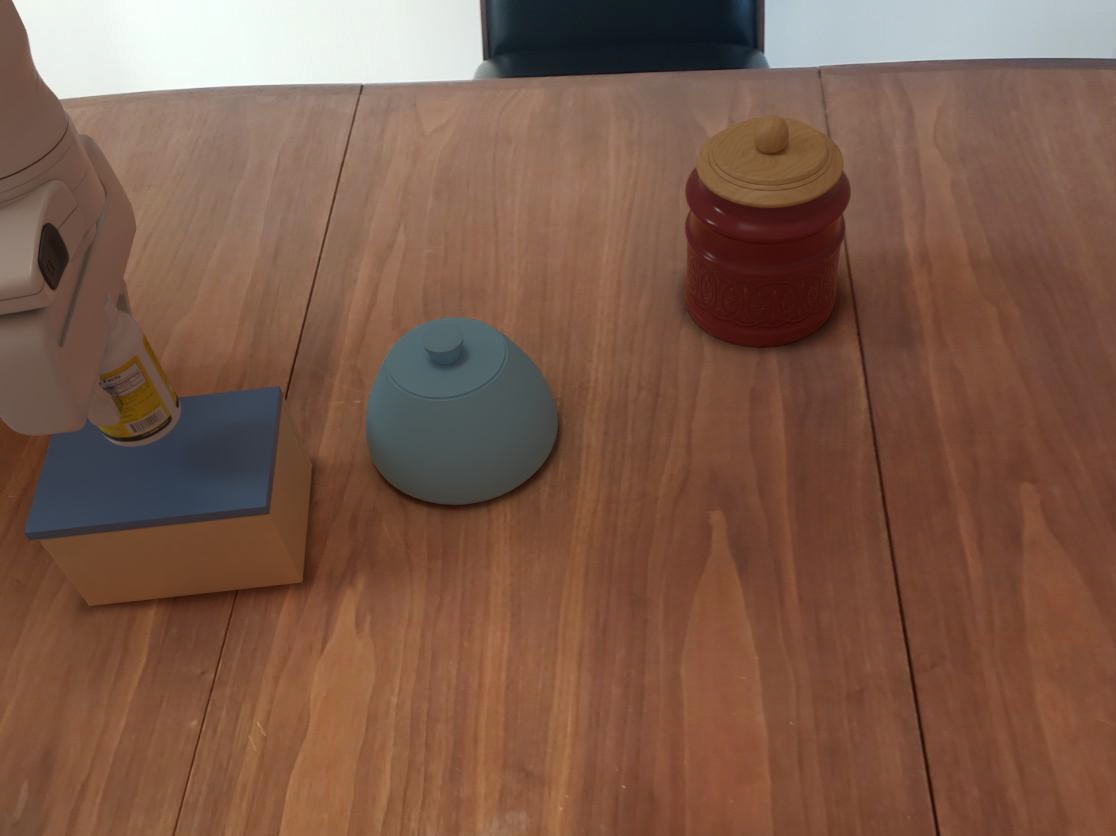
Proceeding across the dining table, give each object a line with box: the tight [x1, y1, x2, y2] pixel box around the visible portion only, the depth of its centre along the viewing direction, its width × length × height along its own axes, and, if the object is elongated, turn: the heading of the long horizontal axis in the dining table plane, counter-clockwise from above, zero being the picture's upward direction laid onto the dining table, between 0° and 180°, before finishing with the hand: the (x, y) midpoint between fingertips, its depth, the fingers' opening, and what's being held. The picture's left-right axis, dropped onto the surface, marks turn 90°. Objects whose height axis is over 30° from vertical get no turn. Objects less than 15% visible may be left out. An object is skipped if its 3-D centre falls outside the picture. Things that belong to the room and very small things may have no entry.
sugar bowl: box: [365, 316, 559, 506], centre depth 82 cm, size 15×15×12 cm
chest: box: [38, 394, 313, 607], centre depth 79 cm, size 16×12×9 cm
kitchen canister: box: [684, 114, 852, 348], centre depth 88 cm, size 13×13×18 cm
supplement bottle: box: [98, 294, 181, 447], centre depth 68 cm, size 5×5×10 cm
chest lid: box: [23, 386, 284, 541], centre depth 75 cm, size 16×12×1 cm
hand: (118, 380), depth 69 cm, fingers closed on supplement bottle, 5 cm apart
